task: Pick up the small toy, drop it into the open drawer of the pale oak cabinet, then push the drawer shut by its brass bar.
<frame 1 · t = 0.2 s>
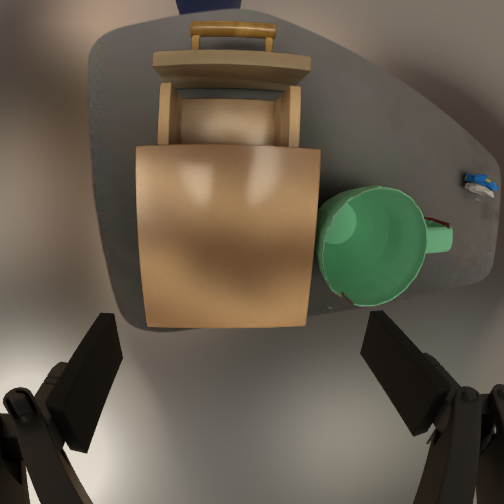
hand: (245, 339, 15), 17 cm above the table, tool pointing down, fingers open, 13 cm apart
cabinet: (225, 217, 30), on the table
drawer: (228, 111, 23), point 5 cm above the table, slide at 6.0 cm
toy: (466, 186, 32), on the table
mug: (355, 220, 32), on the table
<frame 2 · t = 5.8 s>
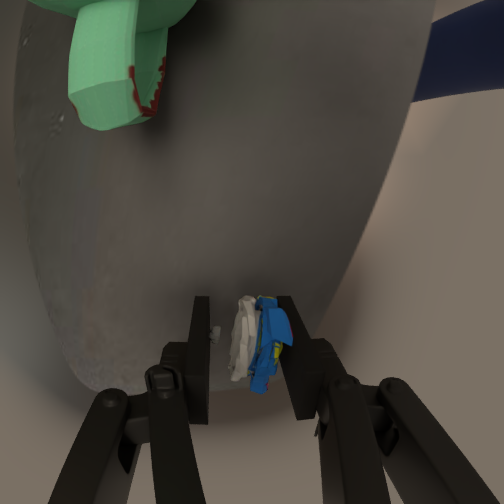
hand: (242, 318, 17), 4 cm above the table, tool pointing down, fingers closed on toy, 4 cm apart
toy: (241, 313, 17), point 3 cm above the table, touching gripper
mug: (154, 34, 14), on the table
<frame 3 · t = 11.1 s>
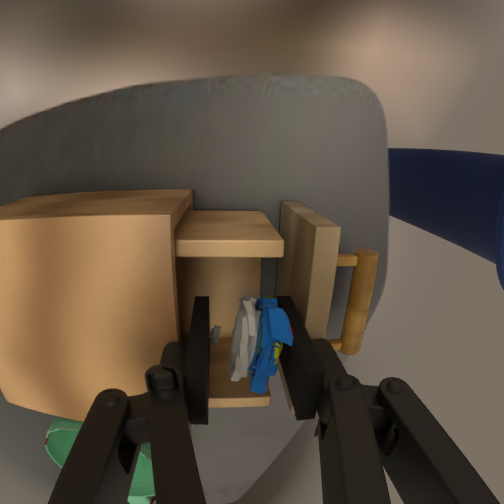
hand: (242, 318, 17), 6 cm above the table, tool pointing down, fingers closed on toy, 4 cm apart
cabinet: (108, 273, 22), on the table
drawer: (238, 304, 18), point 5 cm above the table, slide at 6.0 cm
toy: (241, 313, 17), point 6 cm above the table, touching gripper
mug: (135, 401, 26), on the table
when the fingers open (9 cm above the table, at t = 17.0 s): toy drops 7 cm, resting on drawer.
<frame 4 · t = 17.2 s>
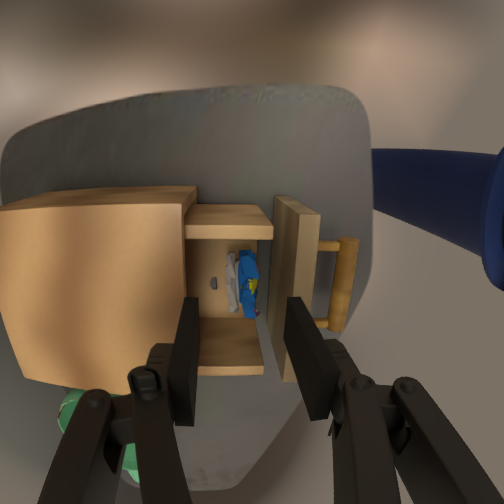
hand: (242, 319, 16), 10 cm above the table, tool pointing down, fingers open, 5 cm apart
cabinet: (120, 260, 24), on the table
drawer: (236, 284, 21), point 5 cm above the table, slide at 6.0 cm, touching toy
toy: (234, 265, 24), point 2 cm above the table, touching drawer
mug: (141, 383, 29), on the table
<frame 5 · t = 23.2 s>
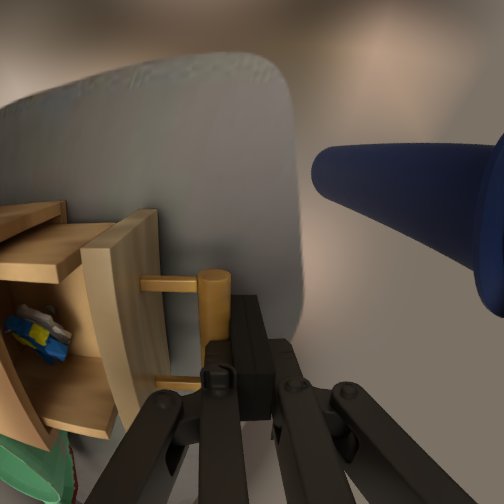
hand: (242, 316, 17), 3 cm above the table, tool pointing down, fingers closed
cabinet: (10, 285, 18), on the table
drawer: (80, 327, 14), point 5 cm above the table, slide at 5.4 cm, touching gripper, toy
toy: (70, 335, 15), point 4 cm above the table, touching drawer
mug: (57, 410, 22), on the table
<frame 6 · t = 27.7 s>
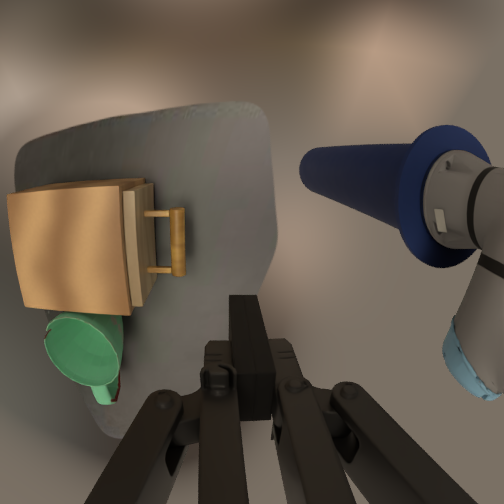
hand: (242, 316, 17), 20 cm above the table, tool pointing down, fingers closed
cabinet: (96, 230, 34), on the table
drawer: (110, 240, 30), point 5 cm above the table, slide at 0.0 cm, touching toy
mug: (110, 327, 39), on the table
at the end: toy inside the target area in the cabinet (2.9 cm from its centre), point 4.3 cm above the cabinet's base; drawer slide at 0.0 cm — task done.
